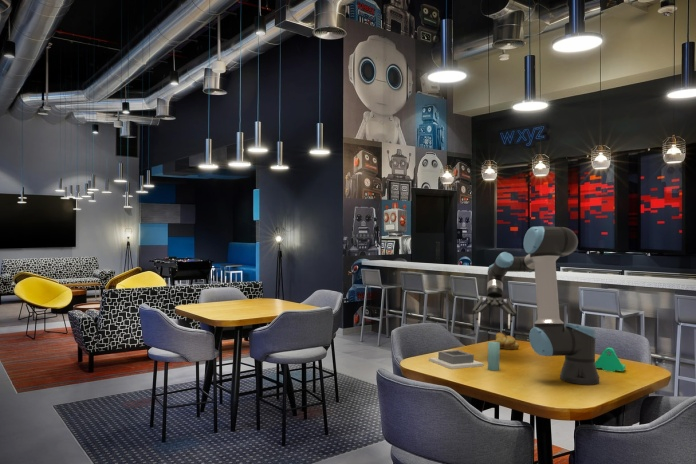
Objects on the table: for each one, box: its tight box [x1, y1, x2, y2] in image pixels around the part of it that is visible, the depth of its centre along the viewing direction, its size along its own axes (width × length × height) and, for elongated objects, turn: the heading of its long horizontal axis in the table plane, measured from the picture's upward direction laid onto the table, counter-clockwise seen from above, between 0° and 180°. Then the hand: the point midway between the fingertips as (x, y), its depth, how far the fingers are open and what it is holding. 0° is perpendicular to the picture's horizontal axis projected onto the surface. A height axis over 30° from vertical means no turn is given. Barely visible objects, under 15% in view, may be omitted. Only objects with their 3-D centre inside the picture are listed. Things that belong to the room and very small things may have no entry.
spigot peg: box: [487, 341, 501, 372], centre depth 244 cm, size 5×5×12 cm
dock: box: [428, 349, 485, 370], centre depth 255 cm, size 18×18×5 cm
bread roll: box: [494, 332, 520, 350], centre depth 294 cm, size 13×10×8 cm
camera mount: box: [595, 347, 626, 373], centre depth 249 cm, size 12×8×10 cm, turn 55°
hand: (493, 326), depth 255 cm, fingers open, 13 cm apart
